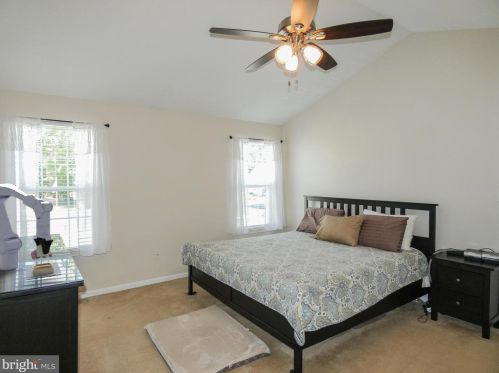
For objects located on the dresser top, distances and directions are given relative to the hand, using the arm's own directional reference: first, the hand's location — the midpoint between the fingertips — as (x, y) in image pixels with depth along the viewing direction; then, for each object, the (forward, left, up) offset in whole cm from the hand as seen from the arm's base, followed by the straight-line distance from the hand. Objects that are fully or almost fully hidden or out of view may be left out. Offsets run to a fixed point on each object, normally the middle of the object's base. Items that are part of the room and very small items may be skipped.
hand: (43, 252), depth 149 cm
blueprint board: (-1, +1, -10) cm, 10 cm away
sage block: (0, 0, -1) cm, 1 cm away
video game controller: (-24, +19, -10) cm, 33 cm away
